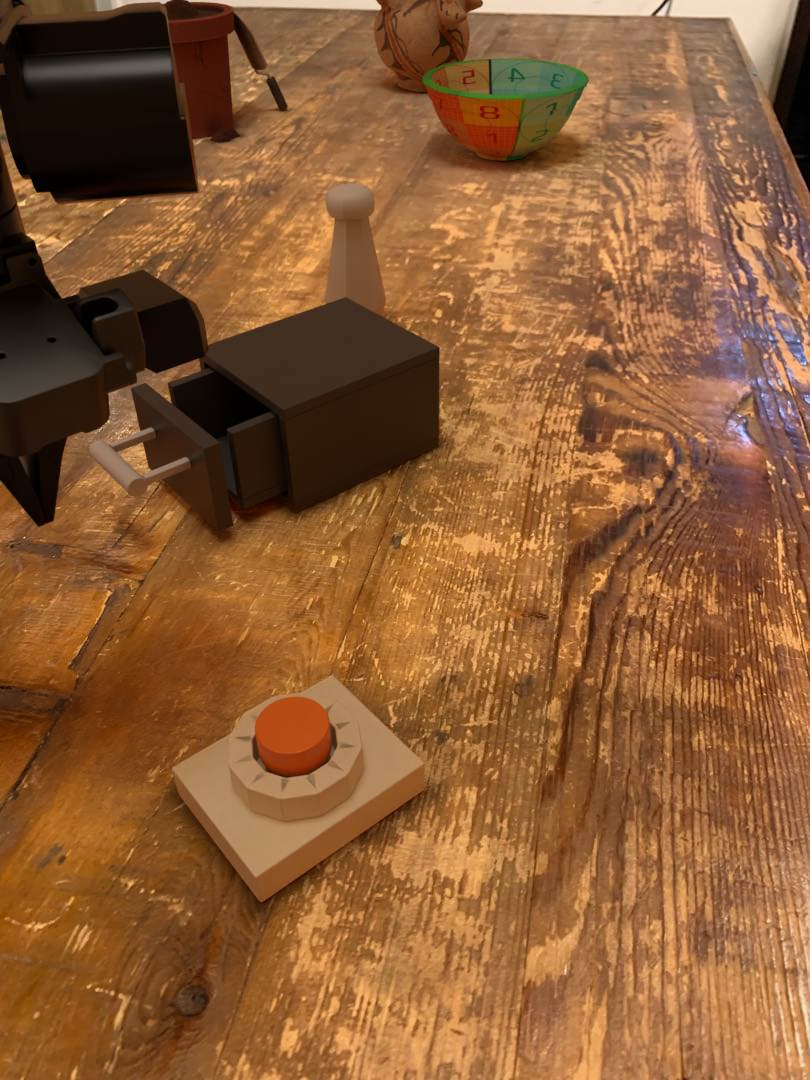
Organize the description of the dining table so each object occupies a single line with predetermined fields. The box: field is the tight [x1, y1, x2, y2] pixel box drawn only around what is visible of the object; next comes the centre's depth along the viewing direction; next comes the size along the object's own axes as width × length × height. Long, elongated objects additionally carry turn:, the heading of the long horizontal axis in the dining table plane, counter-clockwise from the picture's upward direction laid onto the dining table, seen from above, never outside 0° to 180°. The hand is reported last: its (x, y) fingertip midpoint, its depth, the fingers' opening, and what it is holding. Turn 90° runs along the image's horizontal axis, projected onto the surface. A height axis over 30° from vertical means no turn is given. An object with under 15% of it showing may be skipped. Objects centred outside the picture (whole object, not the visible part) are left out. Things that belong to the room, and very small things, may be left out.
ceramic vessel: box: [373, 0, 484, 93], centre depth 156 cm, size 18×19×25 cm
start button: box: [255, 697, 332, 776], centre depth 46 cm, size 4×4×2 cm
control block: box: [171, 674, 425, 903], centre depth 48 cm, size 10×8×4 cm
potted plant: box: [162, 0, 288, 143], centre depth 139 cm, size 18×22×25 cm
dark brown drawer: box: [88, 367, 287, 533], centre depth 68 cm, size 17×10×7 cm, turn 129°
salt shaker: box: [324, 183, 387, 316], centre depth 88 cm, size 6×6×13 cm
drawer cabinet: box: [198, 297, 441, 514], centre depth 72 cm, size 14×12×9 cm
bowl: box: [422, 57, 590, 162], centre depth 130 cm, size 22×22×10 cm
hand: (42, 520), depth 48 cm, fingers closed
